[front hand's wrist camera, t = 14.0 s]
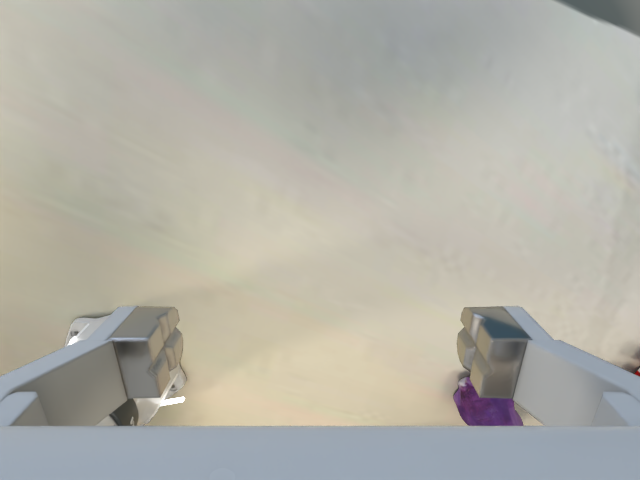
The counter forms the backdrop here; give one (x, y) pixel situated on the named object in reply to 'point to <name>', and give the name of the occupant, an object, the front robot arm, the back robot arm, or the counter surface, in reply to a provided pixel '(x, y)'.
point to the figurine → (484, 407)
